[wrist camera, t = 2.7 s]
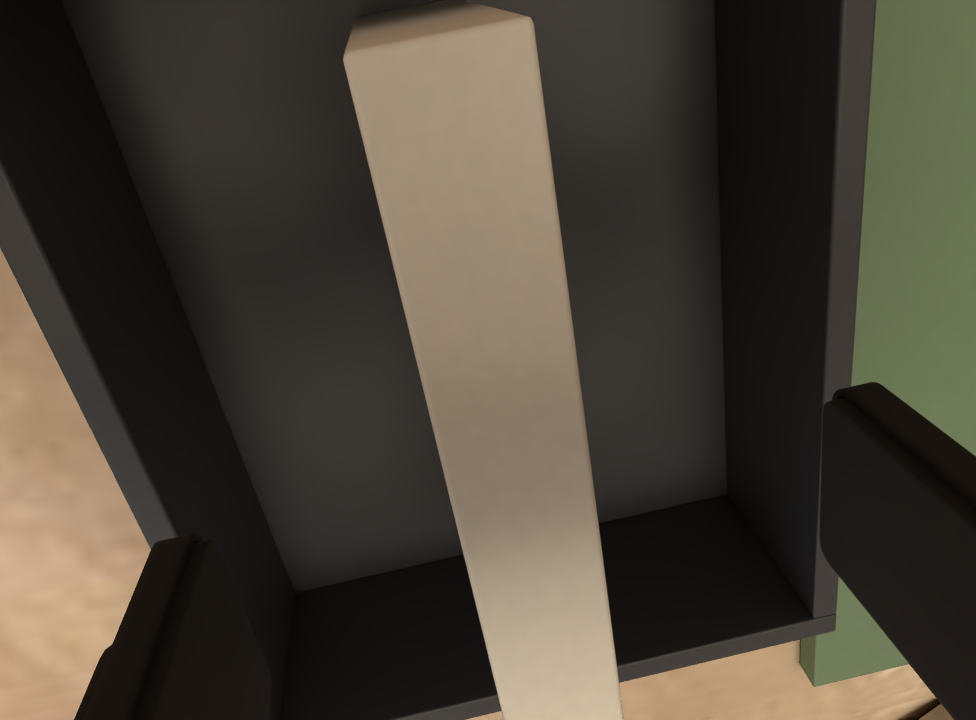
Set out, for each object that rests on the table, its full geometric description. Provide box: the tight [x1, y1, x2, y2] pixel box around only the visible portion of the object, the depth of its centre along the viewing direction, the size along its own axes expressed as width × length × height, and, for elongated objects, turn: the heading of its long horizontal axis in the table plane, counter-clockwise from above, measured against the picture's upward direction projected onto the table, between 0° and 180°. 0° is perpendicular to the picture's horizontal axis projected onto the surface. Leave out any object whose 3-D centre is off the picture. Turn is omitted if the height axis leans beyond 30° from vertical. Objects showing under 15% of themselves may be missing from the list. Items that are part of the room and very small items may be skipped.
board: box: [343, 0, 624, 720], centre depth 15 cm, size 13×2×8 cm, turn 10°
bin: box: [0, 0, 877, 720], centre depth 17 cm, size 17×14×6 cm
